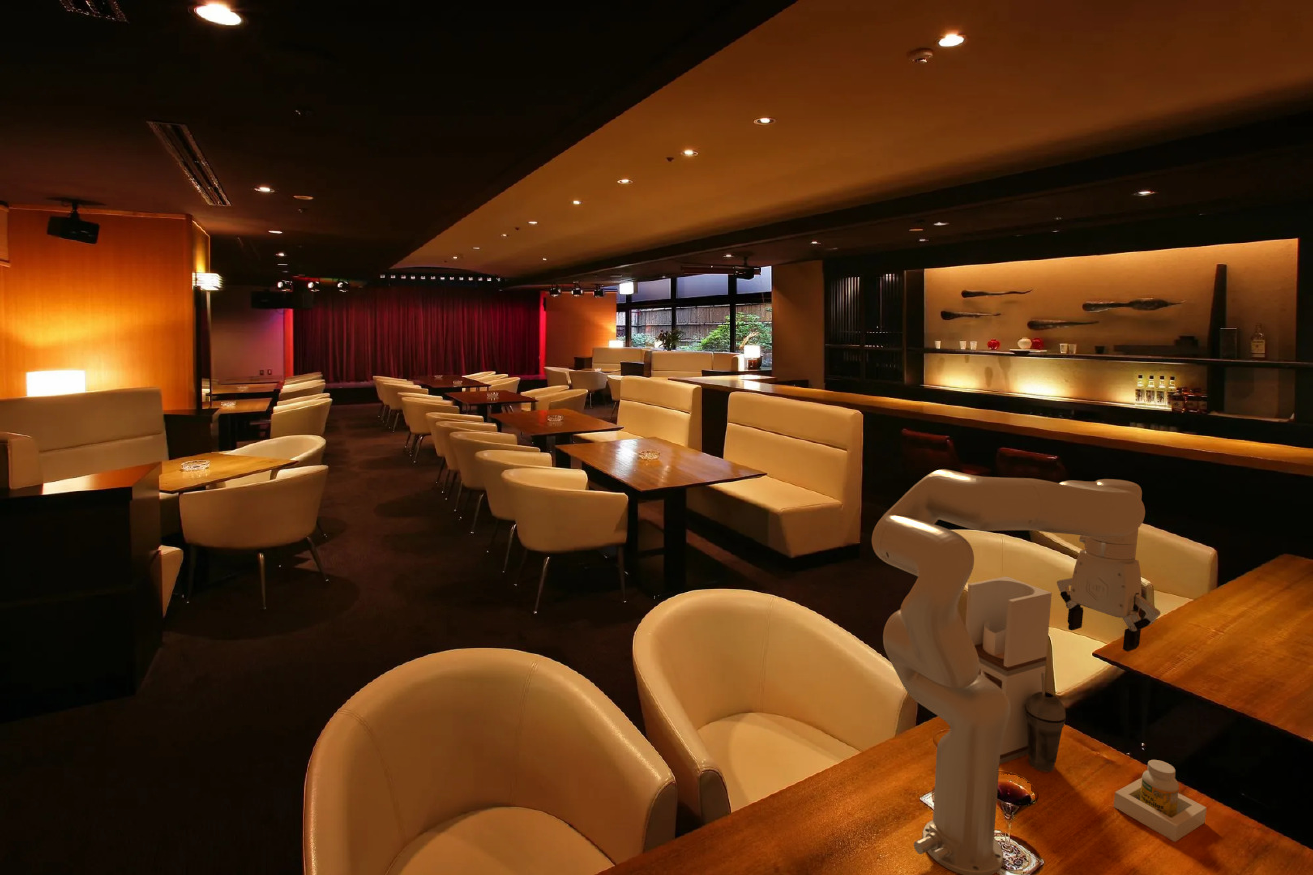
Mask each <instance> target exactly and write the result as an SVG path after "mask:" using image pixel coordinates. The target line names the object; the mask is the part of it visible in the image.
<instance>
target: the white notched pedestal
mask: <svg viewBox="0 0 1313 875" xmlns="http://www.w3.org/2000/svg"><path fill="white" fill-rule="evenodd" d="M1052 594H1053V593H1052V592H1050V591H1049V590H1045V589H1042V588H1040V587H1037V586H1034V585H1031V584H1028V583H1026V582H1024V581H1021V580H1018V579H1015V578H1013V577H1009V576H1001V577H996V578H991V579H986V580H982V581H980V580H979V581H976V582H970V583H968V584H967V599H966V609H965V610H966V613H965V614H966V615H965V627H966V629H967V631H968V633H969V635H970V638H971V640H972V642H973V644H974V646H975V648H976V651H977V654H978V657H979V663H980V675H982V676H983V677H985V678H987V679H989V680H990V681H992V682H993V683H994V684H996V685H997V686H998V687H999V688H1000V689H1001V690H1002V691H1003V692H1004V693H1005V694H1006V696H1007V698H1008V700H1009V703H1010V708H1011V712H1010V718H1009V721H1008V724H1007V727H1006V730H1005V734H1004V737H1003V741H1002V746H1001V752H1000V762H999V765H1002V764H1004V763H1008V762H1010V761H1013V760H1016V759H1018V758H1021V757H1025V756H1028V724H1027V717H1026V710H1025V706H1026V704H1027V701H1028V699H1029V698H1030V697H1031V696H1032V695H1033V694H1035V693H1037V692H1042V680H1041V673H1044V683H1045V679H1046V667H1047V656H1048V655H1047V654H1048V642H1049V633H1050V632H1049V631H1050V629H1049V628H1050V618H1051V606H1052V596H1053V595H1052Z"/></svg>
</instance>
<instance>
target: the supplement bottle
mask: <svg viewBox="0 0 1313 875" xmlns="http://www.w3.org/2000/svg"><path fill="white" fill-rule="evenodd" d="M1141 778H1142V784H1141V796H1140V801H1142V802H1143V803H1145V804H1147V805H1149V806H1151V807H1152V808H1154V809H1156V810H1158V811H1160V812H1162V813H1163V814H1165V815H1167V816H1169V817H1171V818H1172V817H1174V816H1175V815H1177V814H1178V813H1177V802H1178V793H1179V790H1180V785H1179V782H1178V781H1177V779H1176V769H1175V767H1174V766H1173V765H1172V764H1169V763H1168V762H1165V761H1163V760H1157V759H1151V760H1148V762H1147V770H1145V771H1143V773H1142V776H1141Z"/></svg>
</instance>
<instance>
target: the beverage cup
mask: <svg viewBox="0 0 1313 875" xmlns="http://www.w3.org/2000/svg"><path fill="white" fill-rule="evenodd" d="M1041 680H1042V692H1037V693H1035V694H1033V695H1032V696H1031V697H1030V698H1029V699H1028V701H1027V704H1026V706H1025V710H1026V717H1027V724H1028V755H1027V756H1028V764H1029V765H1030V766H1031V767H1032V768H1033V769H1035V770H1037V771H1040V772H1044V773H1050V772H1054V769H1055V765H1056V763H1057V762H1056V761H1057V759H1058V758H1057V756H1058V751H1059V746H1060V740H1061V736H1062V732H1063V728H1064V726H1065V724H1066V723H1065V722H1066V720H1067V715H1066V709H1065V706H1064V704H1063V702H1062V701H1061V700H1060V699H1059V697H1057V696H1056V695H1055V694H1053V693H1051V692H1048V691H1045V690H1046V687H1045V686H1046V685H1045V682H1044V673H1041Z"/></svg>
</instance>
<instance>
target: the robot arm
mask: <svg viewBox="0 0 1313 875" xmlns="http://www.w3.org/2000/svg"><path fill="white" fill-rule="evenodd" d="M1142 495H1143V491H1142V488H1141V486H1140V485H1139V484H1137V483H1135V482H1132V481H1129V480H1124V479H1115V478H1114V479H1113V478H1111V479H1110V478H1103V479H1097V480H1095V481H1088V480H1087V481H1084V480H1070V479H1069V480H1065V481H1061V482H1054V481H1050V480H1044V479H1038V478H1029V477H1028V478H1027V477H1026V478H1025V477H996V476H994V477H993V476H980V475H973V474H969V473H963V472H960V471H955V470H950V469H946V468H944V469H943V468H942V469H938V470H937V469H936V470H934V471H932V472H930V473H929V474H927V475H926V476H924V477H923V478H921V480H919V481H918V482H917V483H915V484H914V485H913V486H912V487H910V489H909V490H908V491H907V492H905V493H904V495H902V497H901V498H899V500H898V501H897V502H896V503H894V504H893V505H892V506H891V507H890V508H889V509H888V510H887V511H886V512H884V513H883V515H882V517H881V518H880V519H879V520H878V521H877V523H876V525H875V526H874V529H873V531H872V535H871V546H872V549H873V551H874V553H875V555H876V556H877V557H878V558H879V559H881V561H882V562H884V563H886V564H888V565H890V566H892V567H894V568H898V569H900V570H902V571H904V572H906V573H909V574H911V575H913V576H916V577H917V578H916V581H915V583H914V584H913V585H912V588H911V589H910V591H909V593H907V595H906V596H905V598H904V599H903V601H902V603H901V605H900V609H898V610H897V611H895V612H893V613H892V614H891V615H890V616H889V618H888V619H887V621H886V623H885V625H884V628H883V634H882V640H883V642H882V643H883V648H884V650H885V653H886V655H887V657H888V660H889V662H890V664H891V665H892V667H893V669H894V670H895V673H896V676H898V679H899V681H900V682H901V684H902V687H903V688H904V689H905V691H906V693H907V694H908V695H909V696H910V697H911V698H912V699H913V700H914V701H915V702H917V703H918V704H919V705H921V706H922V707H923V708H925V709H927V710H928V711H930V712H932V714H935V715H936V716H937V717H939V718H940V719H942V720H943V721H944V722H946V723H947V725H948V726H949V731H948V732H947V733H945V734H944V735H943V736H942V737H941V738H940V740H939V741H938V743H937V747H936V757H935V758H936V759H935V773H934V774H935V779H934V794H933V795H934V797H933V811H932V820H930V821H928V822H927V823H926V824H925V826H924V827H923V829H922V832H921V833H922V834H921V835H922V836H921V838H920V839H918V840H916V841H914V842H913V847H914V850H915V851H916V853H917V854H919V855H923V854H925V853H928V854H929V856H931V858H932V859H933V860H934V861H936V862H937V863H938V864H939V865H941V866H942V867H944V868H946V869H947V870H950V871H951V872H954V873H956V874H960V875H994V874H996V873H998V872H999V870H1000V869H1002V866H1003V863H1004V852H1003V849H1002V846H1001V844H1000V843H999V841H998V840H997V839H996V838H995V830H996V813H997V801H998V790H999V789H998V788H999V787H998V786H999V776H1000V775H999V773H1000V772H999V770H1000V764H999V762H1000V752H1001V746H1002V741H1003V737H1004V734H1005V730H1006V727H1007V724H1008V721H1009V718H1010V712H1011V708H1010V703H1009V700H1008V698H1007V696H1006V694H1005V693H1004V692H1003V691H1002V690H1001V689H1000V688H999V687H998V686H997V685H996V684H994V683H993V682H992V681H990V680H989V679H987V678H985V677H983V676H982V675H981V673H980V671H981V669H980V663H979V657H978V654H977V651H976V648H975V646H974V644H973V642H972V640H971V638H970V635H969V633H968V631H967V629H966V627H965V626H966V624H965V623H964V621H963V619H962V616H961V613H960V610H959V608H958V607H959V602H960V598H961V597H962V594H963V591H964V590H965V587H966V586H967V583H968V581H969V579H970V577H971V576H972V573H973V570H974V564H975V555H974V549H973V548H972V545H971V543H970V542H969V541H968V540H967V539H966V538H965V537H964V536H962V535H961V534H959V533H958V532H956V531H954V530H951V529H948V528H946V527H944V526H941V525H937V524H936V523H937V522H938V520H941V521H944V522H946V523H950V524H954V525H956V526H960V527H964V528H966V529H969V530H976V531H984V532H985V531H988V532H989V531H993V532H994V531H1035V532H1043V533H1052V534H1064V535H1076V536H1079V542H1080V543H1083V544H1084V549H1080V551H1079V553H1078V556H1077V559H1076V561H1075V565H1074V568H1073V573H1072V577H1070V578H1064V579H1060V580H1057V581H1056V585H1057V588H1058V590H1059V592H1060V597H1061V598H1062V600H1063V602H1065V607H1066V608H1067V609H1068V613H1067V624H1068V626H1067V628H1068V630H1069V631H1076V630H1078V629H1082V627H1083V617H1084V607H1085V608H1088V609H1092V610H1093V611H1097V612H1100V613H1102V614H1106V615H1108V616H1112V617H1115V618H1121V619H1122V620H1123V621H1124V623H1125V624H1126V626H1127V628H1126V629H1125V630H1124V631H1123V632H1124V635H1123V643H1122V644H1123V645H1122V650H1123V651H1125V652H1128V653H1129V652H1131V651H1133V650H1136V649H1137V648H1139V646H1140V641H1141V632H1142V629H1145V628H1146V627H1148V626H1151V625H1152V624H1154V622H1155V621H1157V619H1158V618H1159V617H1160V615H1161V611H1160V610H1159V609H1158V608H1157V607H1155V606H1154V605H1153V604H1151V603H1150V602H1149V601H1148V600H1147V599H1145V598H1144V597H1143V596H1142V575H1141V574H1142V573H1141V566H1140V562H1139V560H1138V559H1136V554H1137V545H1138V535H1139V528H1140V527H1141V526H1142V524H1143V522H1144V519H1145V516H1146V509H1145V505H1144V502H1143V501H1142ZM1140 610H1142V611H1144V612H1145V615H1144V617H1143V618H1142V617H1141V616H1140V615H1139V612H1140Z"/></svg>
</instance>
